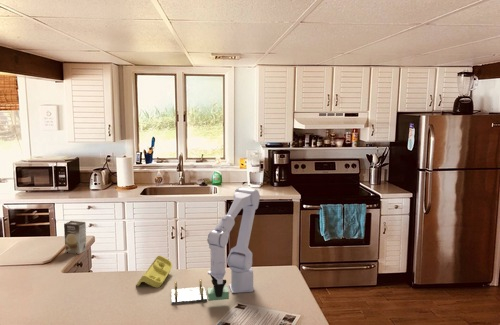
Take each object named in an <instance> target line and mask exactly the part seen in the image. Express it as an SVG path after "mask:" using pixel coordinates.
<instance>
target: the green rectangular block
mask: <svg viewBox="0 0 500 325" xmlns="http://www.w3.org/2000/svg"><path fill="white" fill-rule="evenodd" d="M206 291H207V292H206V297H207V302H211V301H214V302H215V301H223V300H229V299H230V298H229V297H230V296H229V294H230V292H229V288H228V286H227V285H225V286H224V288H223V293H222V297H216V294H215V288H214V286H213V287H212V286H211V287H206Z"/></svg>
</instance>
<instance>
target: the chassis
mask: <svg viewBox="0 0 500 325" xmlns="http://www.w3.org/2000/svg"><path fill="white" fill-rule="evenodd" d="M198 283H199V286H197V287H195V286H194V287H186V288H185V287H184V288H178V281H174V289H171V305H181V304H191V303H192V304H193V303H202V302H204V303H205V302H208V296H207V292H206V287H205V286H203V280H202V279H199V281H198Z"/></svg>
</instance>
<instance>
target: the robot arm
mask: <svg viewBox="0 0 500 325" xmlns="http://www.w3.org/2000/svg"><path fill="white" fill-rule="evenodd" d="M260 198H261V195H260V192H259V190H258V189H252V188H244V187H241V186H240V187H236V189H235V190H234V193H233V201H232V203H231V205H230V208H229V210H228V212H227V213H226V214H224V215H222V217H220V220H219V221H218V223H217V225H216V227H215V228H214V229H212V230H211V231H210V232H209V233H208V235H207V238H206V242H207V244H208V248H209V250H210V270H207V275H210V277H211V284H212V286H213V287H214V288H215V294H216V297H222V293H223V288H224V286H226V284H227V279H224V277H225V275H226V273H227V272H226V262H227V265H228V267H229V269H230V270H231V272H230V274H231V276H230V278H231V283H229V285H228V286H229V289H230V292H231V293H232V294H236V293H237V294H241V293H248V292H249V293H251V292H254V270H253V268H252V266H253V252H252V250H250V248H249V246H250V245H249V244H250V239H251V235H252V234H251V233H252V230H253V229H252V228H253V224H254V219H255V213H256V210H257V209H258V208H259V205H260V200H261V199H260ZM241 210H242V214H241V215H242V216H241V220H240V226H239V230H238V236H237V241H236V245H235V246H233V247H231V248H230V251H229V254H228V256H227V259H226V246H227V244H228V242H229V237H230V233H231V231H232V230H233V227H234V226H235V224H236V222H235V219H236V217H237V216H238V214H239V213H240V212H241Z"/></svg>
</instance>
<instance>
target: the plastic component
mask: <svg viewBox="0 0 500 325" xmlns="http://www.w3.org/2000/svg"><path fill="white" fill-rule="evenodd" d="M172 268H173V263H172V262H171V260H170V259H168V258H166V257H164V256H162V255H157V256H156V257H155V259H154V261H152V263H151V265H150V266H149V267H148V268H147V270H146V271H145V273H144V274H143V275H142V276H141V278H140V279H139V280H138V281H137V283H136V284H135V285H136V286H137V287H139V286H140V285H141V283H145V284H147V285H149V286H151V287H153V288H158V287H159V288H160V286H162V285H163V284H164V282H165V280H166V279H167V277H168V275H169V274H170V272H171V270H172Z"/></svg>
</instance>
